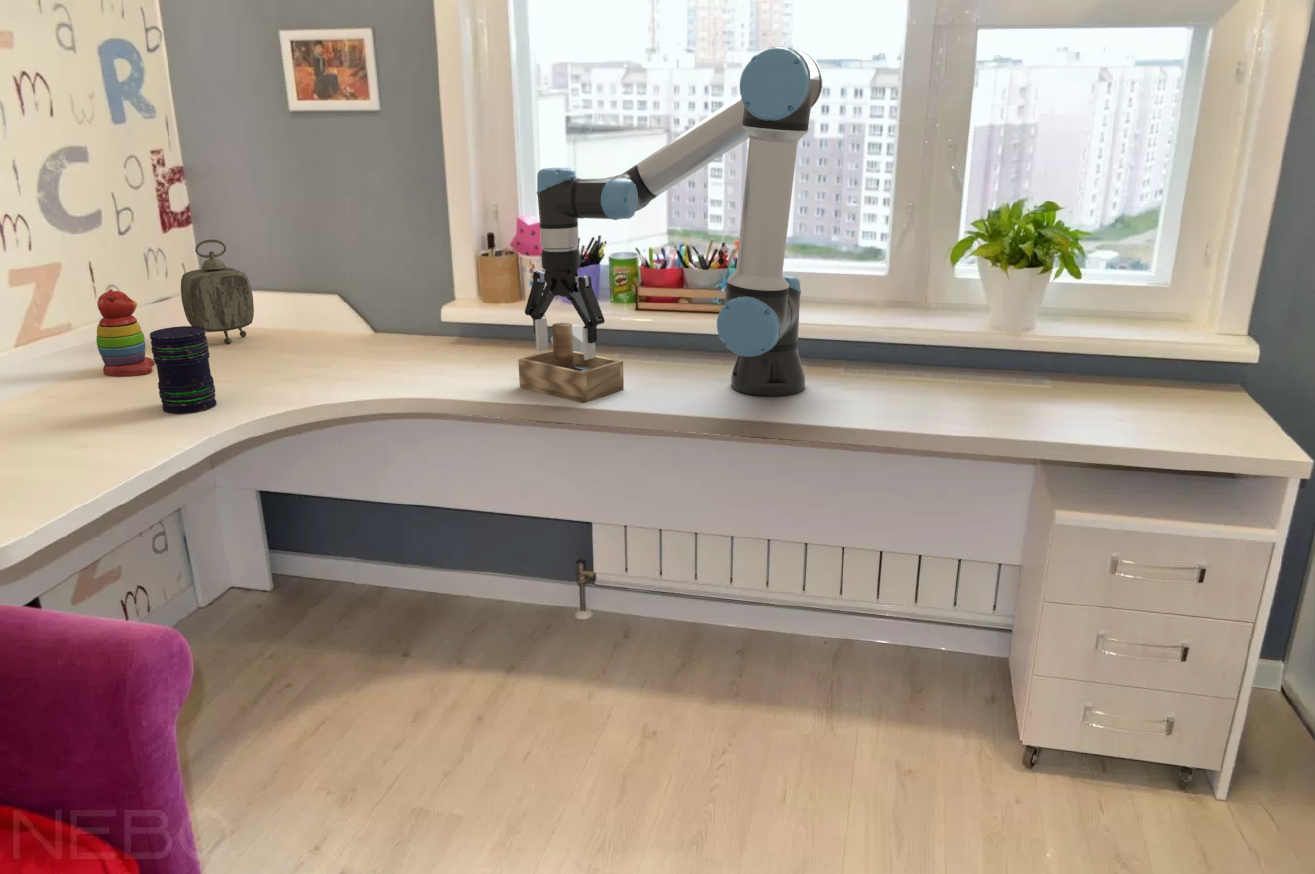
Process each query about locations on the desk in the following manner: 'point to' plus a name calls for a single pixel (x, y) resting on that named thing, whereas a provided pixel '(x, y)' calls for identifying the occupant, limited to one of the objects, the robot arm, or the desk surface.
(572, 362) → the peg
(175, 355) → the storage jar
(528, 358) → the box
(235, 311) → the tabletop clock
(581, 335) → the die
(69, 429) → the desk surface
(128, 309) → the bird stacking toy
